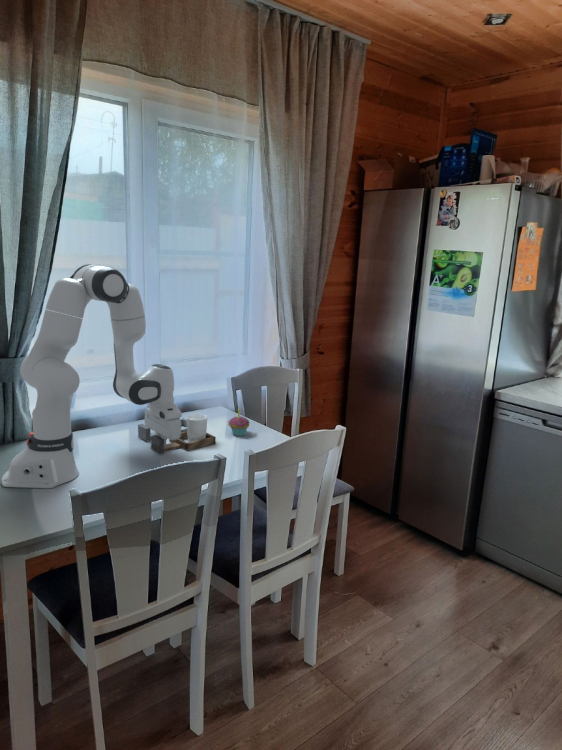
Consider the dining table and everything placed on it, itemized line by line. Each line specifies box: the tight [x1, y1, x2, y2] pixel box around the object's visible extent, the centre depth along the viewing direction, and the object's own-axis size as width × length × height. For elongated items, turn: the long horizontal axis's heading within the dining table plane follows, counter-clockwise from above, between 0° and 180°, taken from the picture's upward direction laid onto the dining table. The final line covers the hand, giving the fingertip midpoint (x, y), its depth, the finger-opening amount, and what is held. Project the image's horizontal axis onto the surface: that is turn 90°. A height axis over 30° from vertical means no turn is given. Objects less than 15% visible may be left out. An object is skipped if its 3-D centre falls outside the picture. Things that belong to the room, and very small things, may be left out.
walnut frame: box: [150, 431, 217, 454], centre depth 208 cm, size 22×12×5 cm, turn 132°
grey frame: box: [137, 417, 187, 442], centre depth 220 cm, size 22×12×5 cm, turn 132°
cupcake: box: [227, 407, 250, 437], centre depth 222 cm, size 9×8×12 cm
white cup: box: [185, 413, 208, 443], centre depth 212 cm, size 8×8×10 cm
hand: (162, 444), depth 203 cm, fingers closed, pressing on walnut frame
